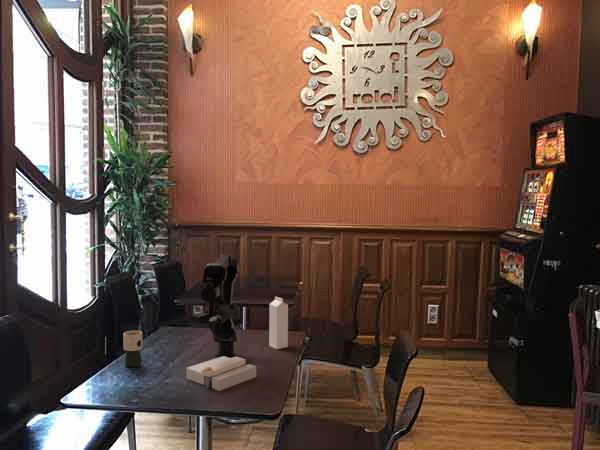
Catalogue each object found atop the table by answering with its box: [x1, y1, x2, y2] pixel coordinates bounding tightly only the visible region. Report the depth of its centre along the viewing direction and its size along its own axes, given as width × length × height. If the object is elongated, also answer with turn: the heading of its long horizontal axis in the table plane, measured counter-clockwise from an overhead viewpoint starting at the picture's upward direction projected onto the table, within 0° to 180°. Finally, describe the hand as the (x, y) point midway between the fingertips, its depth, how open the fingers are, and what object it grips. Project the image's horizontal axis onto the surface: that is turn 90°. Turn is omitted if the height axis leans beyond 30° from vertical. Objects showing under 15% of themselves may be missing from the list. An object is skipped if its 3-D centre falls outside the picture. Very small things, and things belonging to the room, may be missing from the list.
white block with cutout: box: [186, 356, 257, 392], centre depth 194 cm, size 18×19×4 cm
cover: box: [201, 356, 246, 377], centre depth 191 cm, size 5×18×2 cm, turn 142°
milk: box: [268, 296, 289, 350], centre depth 232 cm, size 6×6×22 cm
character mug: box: [122, 330, 143, 367], centre depth 206 cm, size 11×7×13 cm, turn 3°
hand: (215, 336), depth 201 cm, fingers closed
